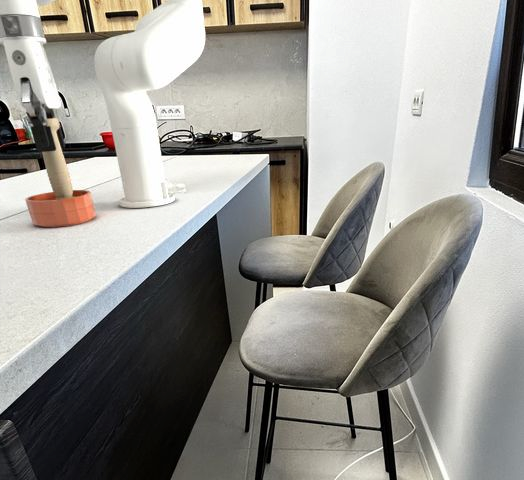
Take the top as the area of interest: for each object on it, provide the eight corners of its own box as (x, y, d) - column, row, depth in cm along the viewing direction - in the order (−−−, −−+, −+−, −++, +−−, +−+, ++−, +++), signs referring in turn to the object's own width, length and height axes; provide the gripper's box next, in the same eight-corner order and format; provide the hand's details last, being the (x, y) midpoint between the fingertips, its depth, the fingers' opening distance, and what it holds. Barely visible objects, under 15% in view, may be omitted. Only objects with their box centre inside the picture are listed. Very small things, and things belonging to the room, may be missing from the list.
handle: (80, 199, 89) (58, 118, 82) (78, 205, 84) (55, 118, 76) (55, 202, 88) (31, 120, 81) (52, 208, 83) (26, 120, 75)
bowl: (100, 212, 93) (95, 188, 91) (90, 225, 82) (83, 198, 80) (43, 217, 92) (35, 192, 89) (24, 230, 81) (16, 203, 79)
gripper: (27, 23, 65) (62, 152, 74) (55, 39, 80) (81, 145, 89) (-25, 25, 64) (16, 155, 73) (13, 41, 79) (43, 147, 88)
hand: (52, 148), depth 81 cm, fingers closed on handle, 6 cm apart
